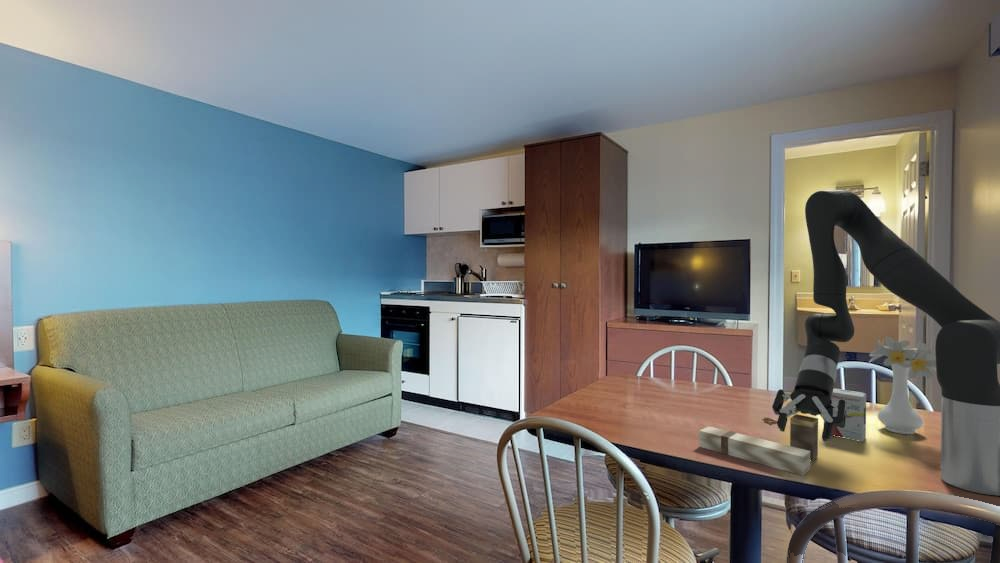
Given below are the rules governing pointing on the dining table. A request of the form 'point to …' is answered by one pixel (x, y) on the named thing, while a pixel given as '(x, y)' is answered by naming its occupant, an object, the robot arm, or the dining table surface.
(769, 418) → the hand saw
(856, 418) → the ink box
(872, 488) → the dining table surface
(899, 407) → the flower vase
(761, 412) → the dining table surface
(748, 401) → the dining table surface
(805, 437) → the brown rectangular block
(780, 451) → the board
